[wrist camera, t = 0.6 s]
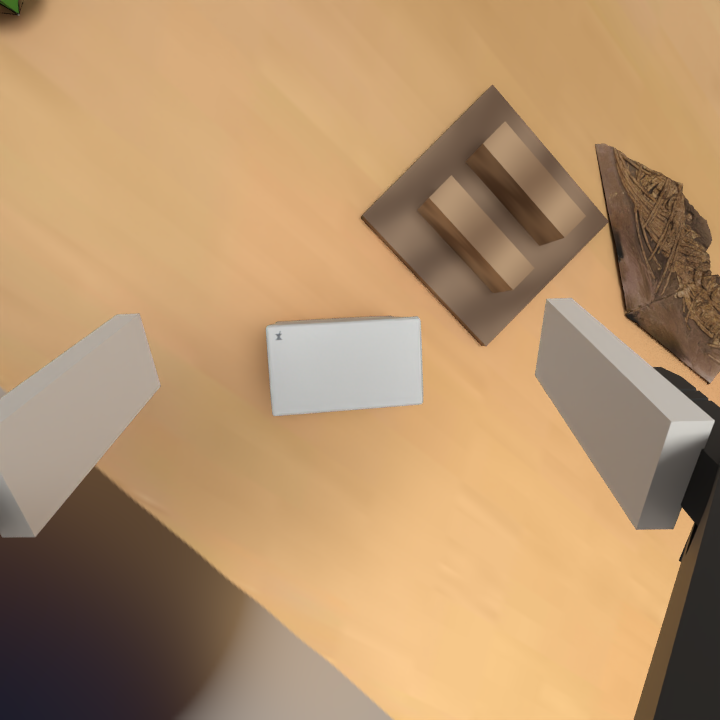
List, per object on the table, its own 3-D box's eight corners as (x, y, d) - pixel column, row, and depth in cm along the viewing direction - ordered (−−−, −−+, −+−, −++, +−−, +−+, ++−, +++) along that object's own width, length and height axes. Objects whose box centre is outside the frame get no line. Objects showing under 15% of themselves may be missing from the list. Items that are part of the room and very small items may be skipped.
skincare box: (281, 393, 40) (270, 419, 29) (275, 321, 39) (263, 321, 29) (396, 385, 41) (425, 407, 31) (393, 315, 40) (421, 312, 30)
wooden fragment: (754, 355, 45) (765, 356, 44) (662, 407, 44) (671, 409, 43) (656, 113, 42) (665, 108, 41) (556, 166, 41) (562, 162, 40)
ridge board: (361, 217, 39) (368, 202, 34) (488, 90, 39) (513, 57, 35) (482, 345, 41) (505, 348, 36) (601, 224, 42) (640, 210, 37)
